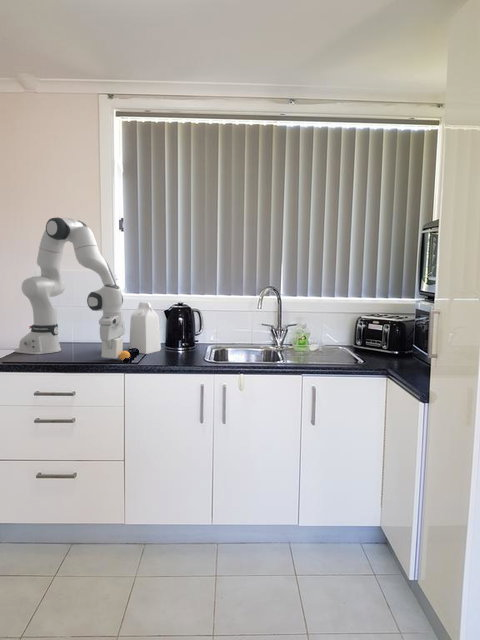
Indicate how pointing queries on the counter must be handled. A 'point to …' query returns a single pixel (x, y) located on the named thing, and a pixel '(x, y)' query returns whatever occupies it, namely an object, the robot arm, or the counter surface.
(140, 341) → the milk
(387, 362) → the counter surface
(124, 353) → the ball
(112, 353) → the white block
